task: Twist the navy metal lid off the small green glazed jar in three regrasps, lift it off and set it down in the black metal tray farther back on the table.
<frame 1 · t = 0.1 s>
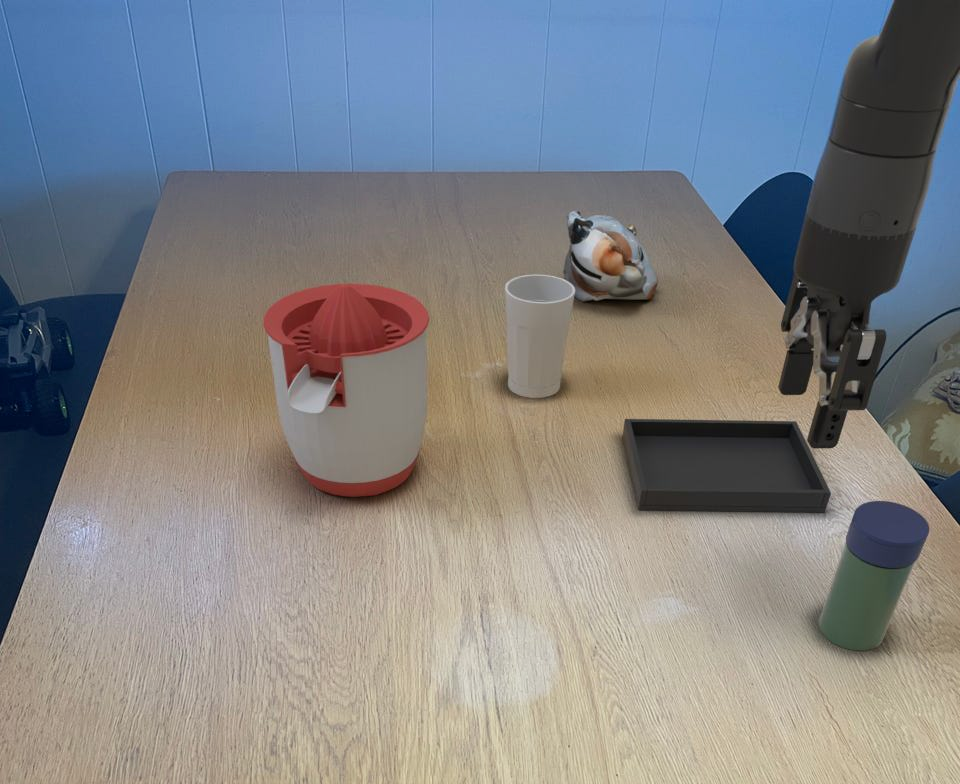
hand: (805, 418, 78), 17 cm above the table, tool pointing down, fingers open, 8 cm apart
tray: (718, 473, 104), on the table
lucky cat figurine: (608, 296, 138), on the table
cup: (533, 386, 117), on the table
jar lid: (890, 525, 78), point 11 cm above the table, screwed on, not yet turned
jar: (850, 629, 85), on the table
citrus juicer: (354, 474, 102), on the table
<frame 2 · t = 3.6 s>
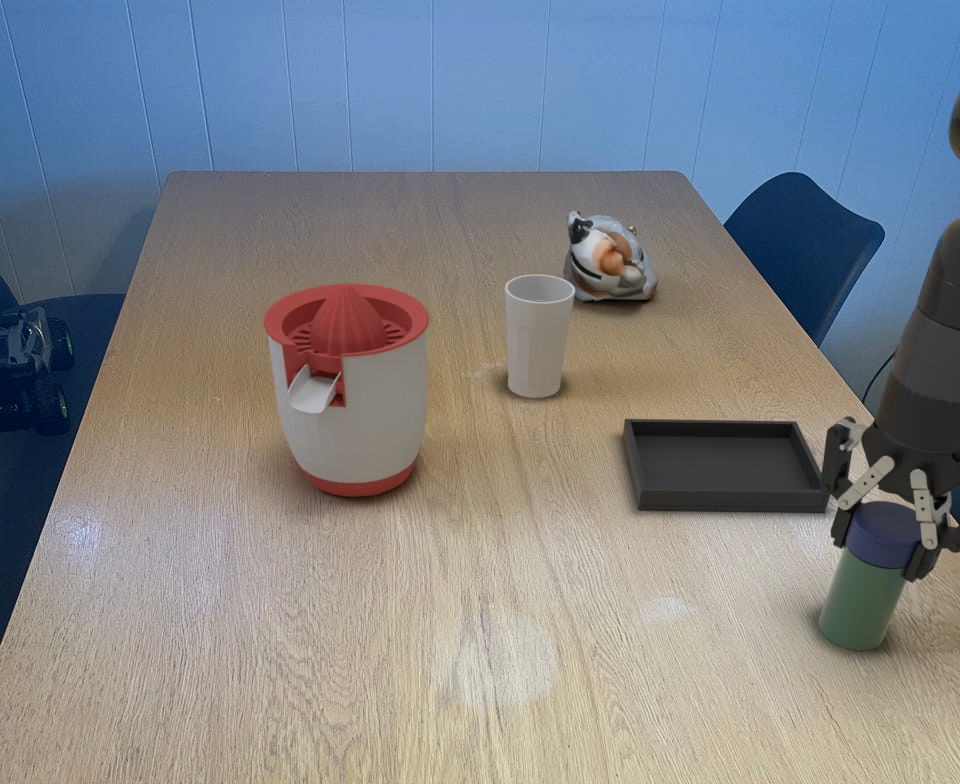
hand: (876, 559, 80), 8 cm above the table, tool pointing down, fingers closed on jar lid, 5 cm apart
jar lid: (889, 525, 78), point 11 cm above the table, screwed on, not yet turned, touching gripper
everything else where it was.
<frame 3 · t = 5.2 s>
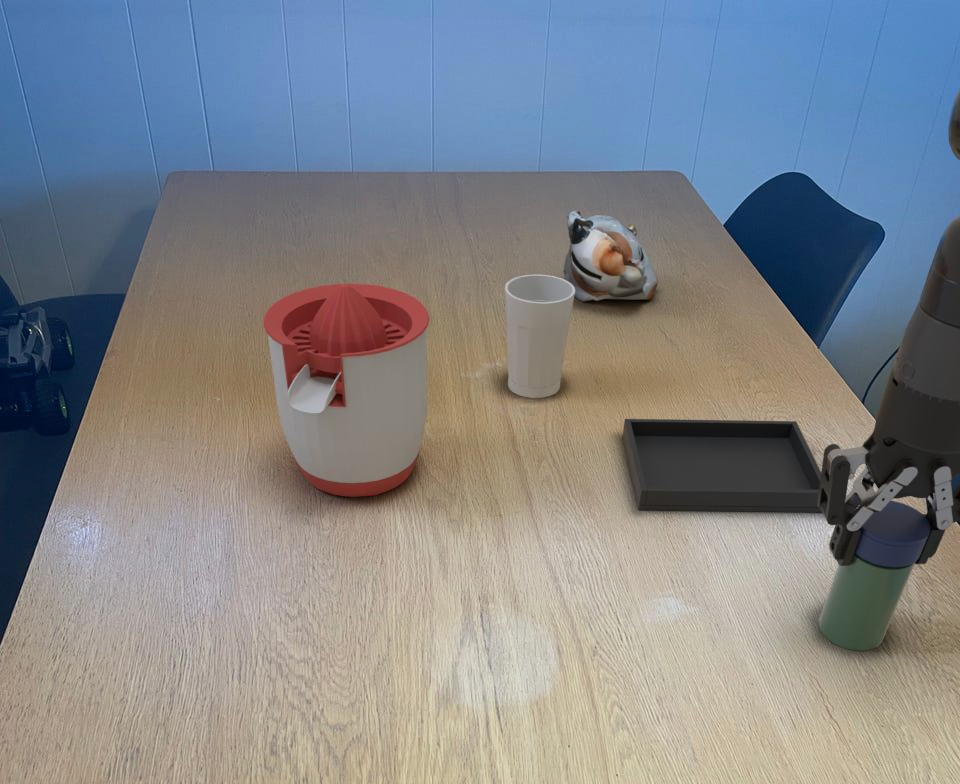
hand: (878, 558, 80), 8 cm above the table, tool pointing down, fingers closed on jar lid, 5 cm apart
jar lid: (891, 524, 78), point 11 cm above the table, turned 48° so far, risen 0.1 cm, still on its thread, touching gripper
everything else where it was.
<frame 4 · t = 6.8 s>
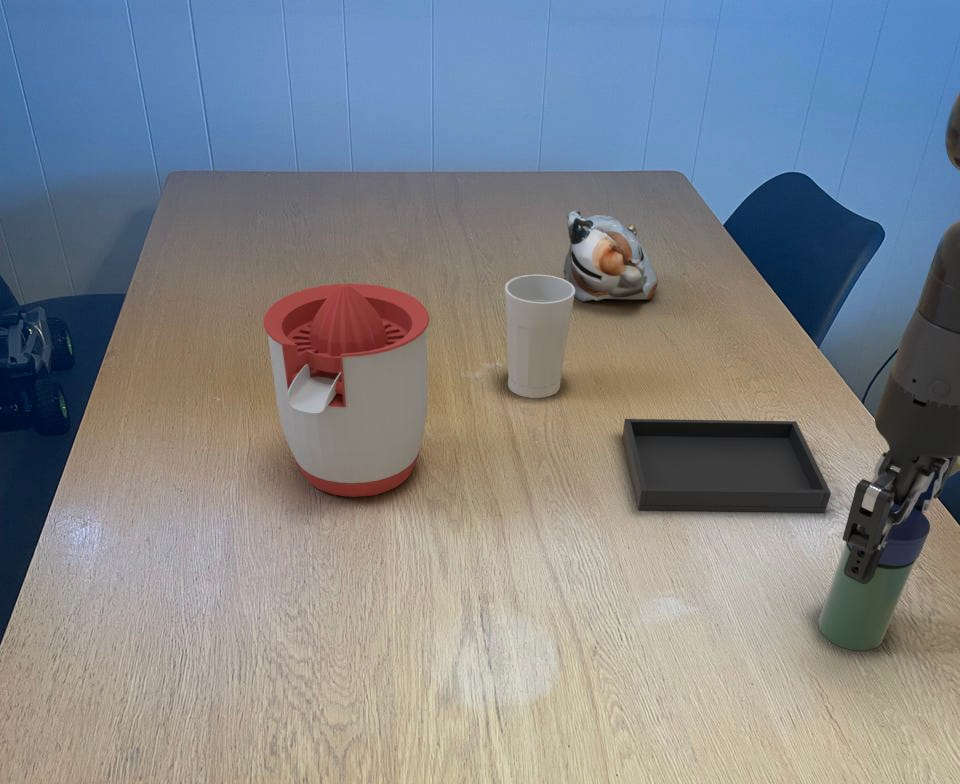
hand: (875, 561, 80), 8 cm above the table, tool pointing down, fingers closed on jar, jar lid, 5 cm apart
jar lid: (890, 523, 78), point 12 cm above the table, turned 90° so far, risen 0.2 cm, still on its thread, touching gripper
jar: (850, 629, 85), on the table, touching gripper
everything else where it was.
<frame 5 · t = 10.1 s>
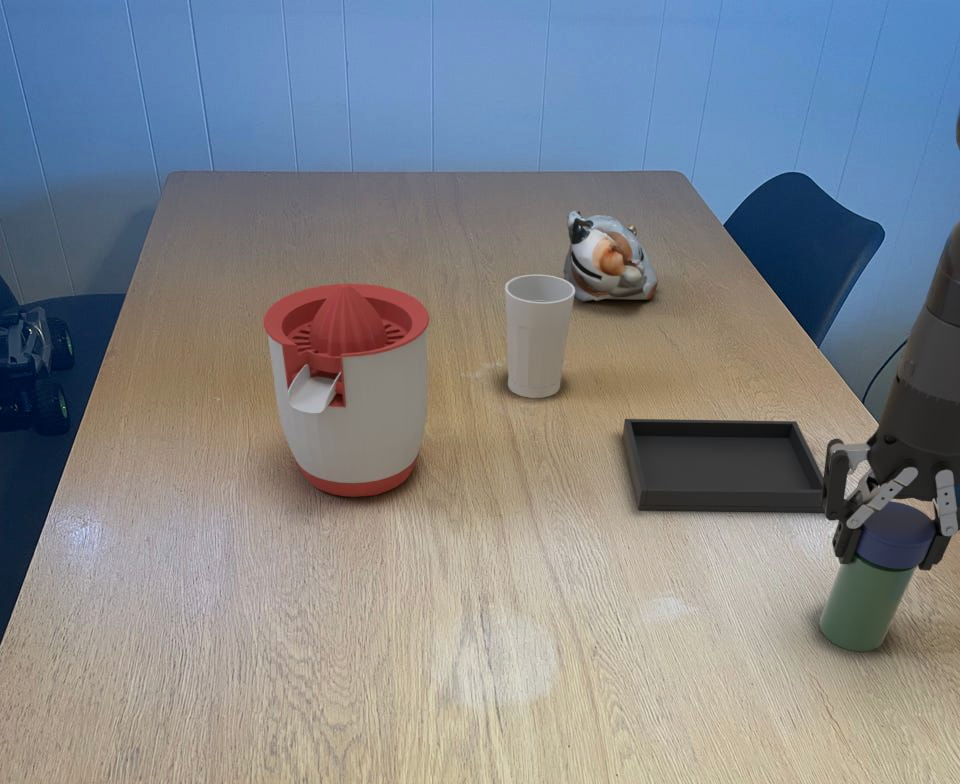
hand: (881, 560, 79), 8 cm above the table, tool pointing down, fingers closed on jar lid, 5 cm apart
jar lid: (895, 525, 77), point 12 cm above the table, off its thread, touching gripper
jar: (851, 629, 85), on the table, touching gripper
everything else where it was.
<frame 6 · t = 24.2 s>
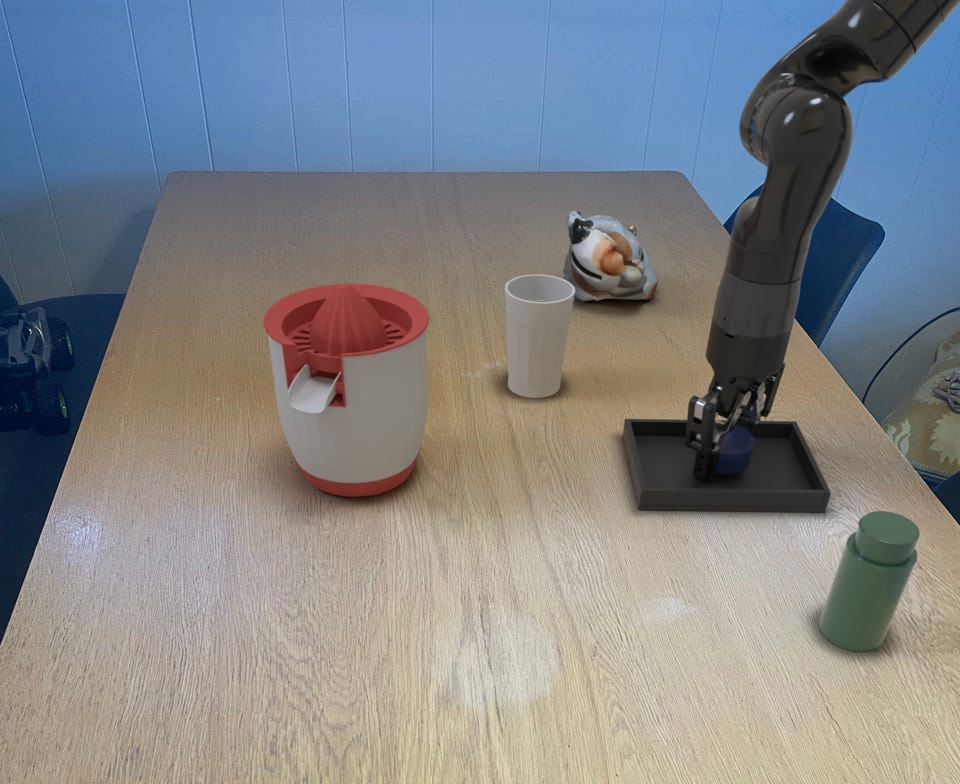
hand: (719, 467, 103), 1 cm above the table, tool pointing down, fingers closed on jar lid, 6 cm apart
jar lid: (725, 441, 101), point 4 cm above the table, off its thread, touching gripper
jar: (851, 630, 85), on the table
everything else where it was.
when the fingers open (2 cm above the table, at t = 34.0 s): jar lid drops 2 cm, resting on tray.
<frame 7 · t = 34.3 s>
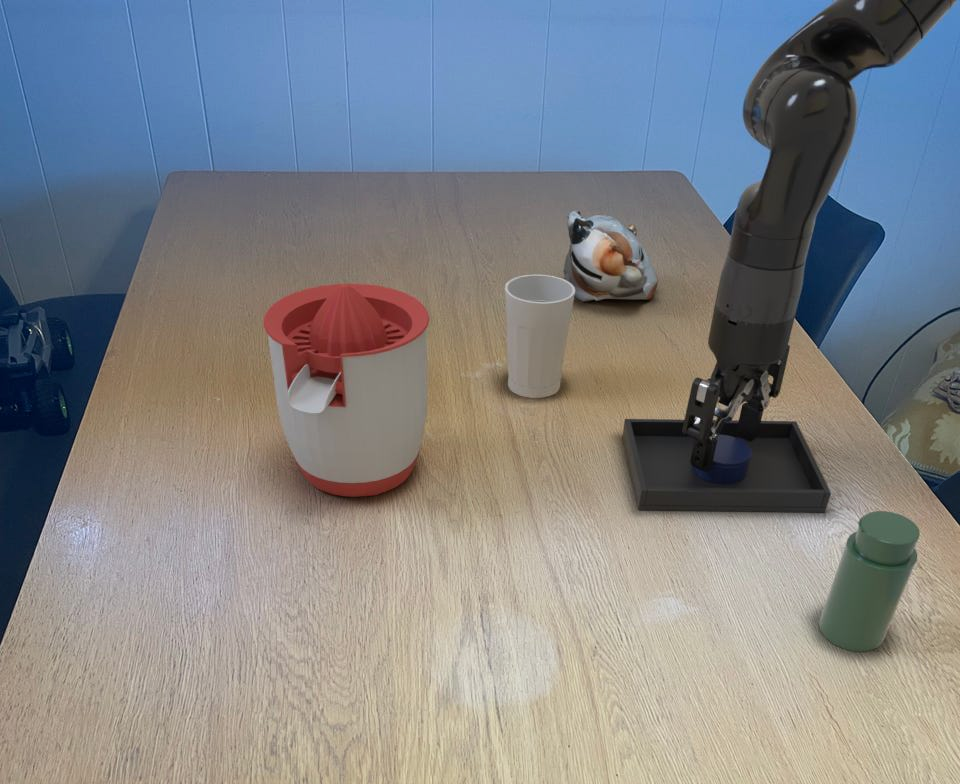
hand: (723, 452, 102), 3 cm above the table, tool pointing down, fingers open, 8 cm apart
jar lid: (722, 452, 102), point 3 cm above the table, off its thread, touching tray
everything else where it was.
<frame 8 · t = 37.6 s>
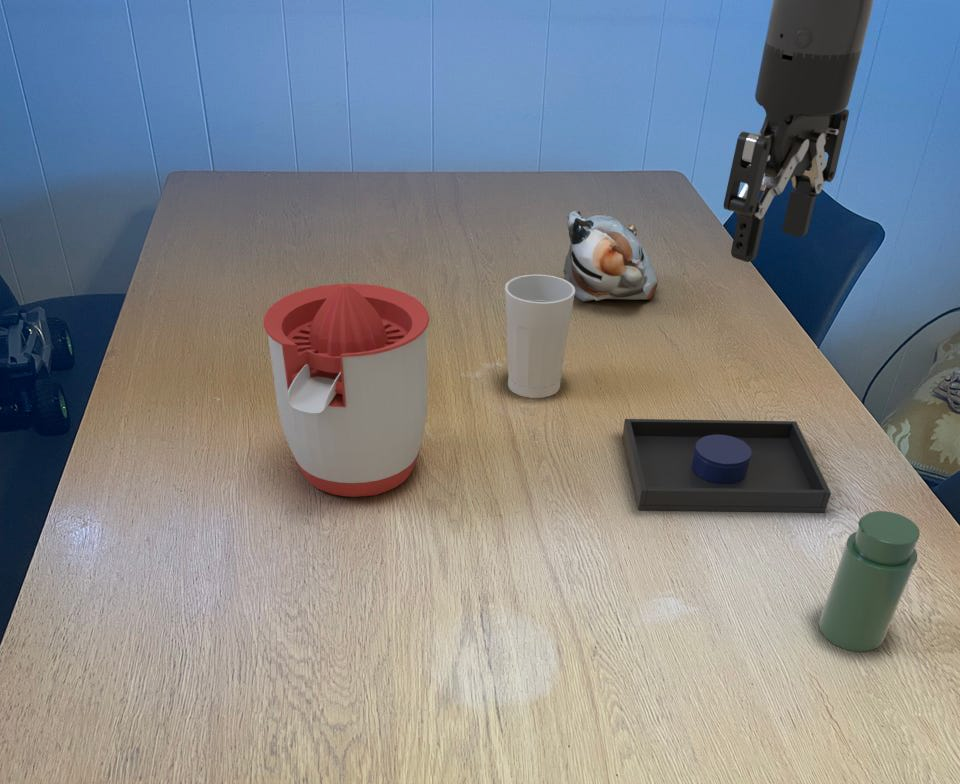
hand: (768, 246, 87), 24 cm above the table, tool pointing down, fingers open, 8 cm apart
nothing on the table moved.
at the end: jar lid came off its thread; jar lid inside the target area in the tray (0.1 cm from its centre), point 2.7 cm above the tray's base; the gripper is holding nothing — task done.
